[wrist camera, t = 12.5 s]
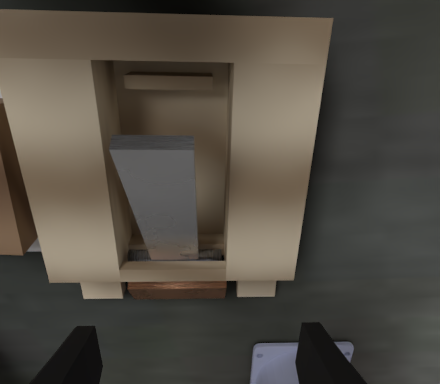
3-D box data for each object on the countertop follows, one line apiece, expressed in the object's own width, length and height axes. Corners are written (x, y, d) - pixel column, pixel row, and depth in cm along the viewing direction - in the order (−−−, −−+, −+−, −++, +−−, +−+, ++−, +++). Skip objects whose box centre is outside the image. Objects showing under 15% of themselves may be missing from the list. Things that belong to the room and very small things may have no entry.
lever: (224, 275, 23) (224, 298, 22) (136, 276, 23) (134, 299, 22) (246, 135, 11) (250, 174, 10) (57, 133, 10) (44, 173, 10)
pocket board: (271, 286, 24) (285, 336, 20) (88, 288, 23) (64, 341, 19) (302, 21, 17) (333, 18, 13) (35, 14, 16) (-21, 8, 12)
